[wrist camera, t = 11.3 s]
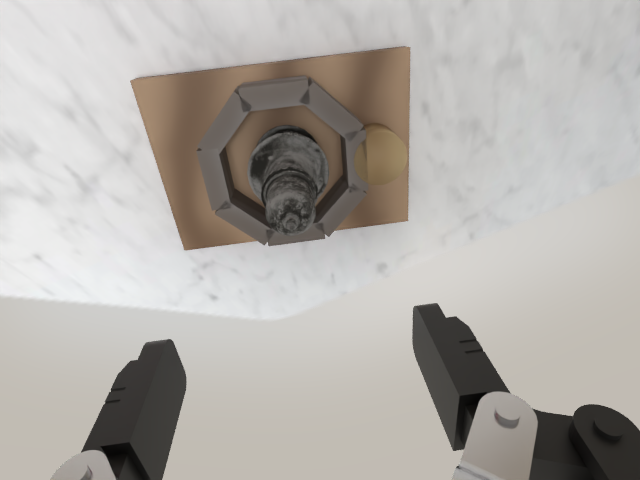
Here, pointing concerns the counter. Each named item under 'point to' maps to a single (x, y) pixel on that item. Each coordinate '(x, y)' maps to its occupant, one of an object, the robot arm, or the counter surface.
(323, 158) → the salt shaker
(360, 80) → the board
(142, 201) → the counter surface
